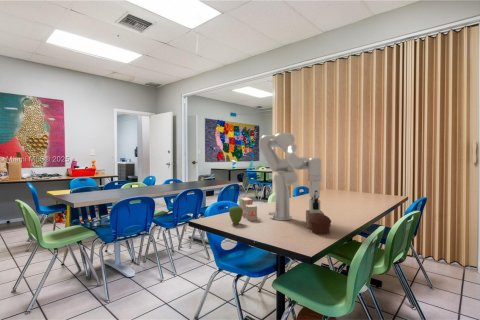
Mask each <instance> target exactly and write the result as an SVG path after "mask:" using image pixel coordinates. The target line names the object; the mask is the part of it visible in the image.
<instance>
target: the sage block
mask: <svg viewBox="0 0 480 320" xmlns="http://www.w3.org/2000/svg"><path fill="white" fill-rule="evenodd" d="M318 201H319V209H318V210H313V199H311V198H310V199H308V203H309V204H308V207H309V209H308V210H309V211H310V212H311V213H320V210H321V200H319V199H318Z"/></svg>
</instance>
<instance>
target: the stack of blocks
mask: <svg viewBox="0 0 480 320" xmlns="http://www.w3.org/2000/svg"><path fill="white" fill-rule="evenodd" d="M238 199H239V200H238V201H239V205H238V207H241V208H242V210H243V214H242V218H244V219H245V220H247V221H257V220H258V218H257V217H258V206H257V205H255V204H254V203H253V199H251V198H249V197H247V196H246V197H244V196H243V197H239V198H238Z"/></svg>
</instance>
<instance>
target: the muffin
mask: <svg viewBox="0 0 480 320" xmlns="http://www.w3.org/2000/svg"><path fill="white" fill-rule="evenodd" d="M310 222H311V228H312V229H311V232H312V234H314V235H318V236H319V235H320V236H325V235H326V236H327V235H329V234H330V228H331V223H332V222H333V221H332V219H331V218H330V217H329V216H327V215H325V214H324V215H323V214H316V215H314V216H312V217H311V219H310Z"/></svg>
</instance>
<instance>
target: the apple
mask: <svg viewBox="0 0 480 320" xmlns="http://www.w3.org/2000/svg"><path fill="white" fill-rule="evenodd" d="M228 214H229V218H230V221H231V222H232V224H234V225H238V224H240V222H241V220H242V218H243V216H242V214H243V210H242V208H241V207H240V206H236V205H235V206H231V207H230V208H229V209H228Z"/></svg>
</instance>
